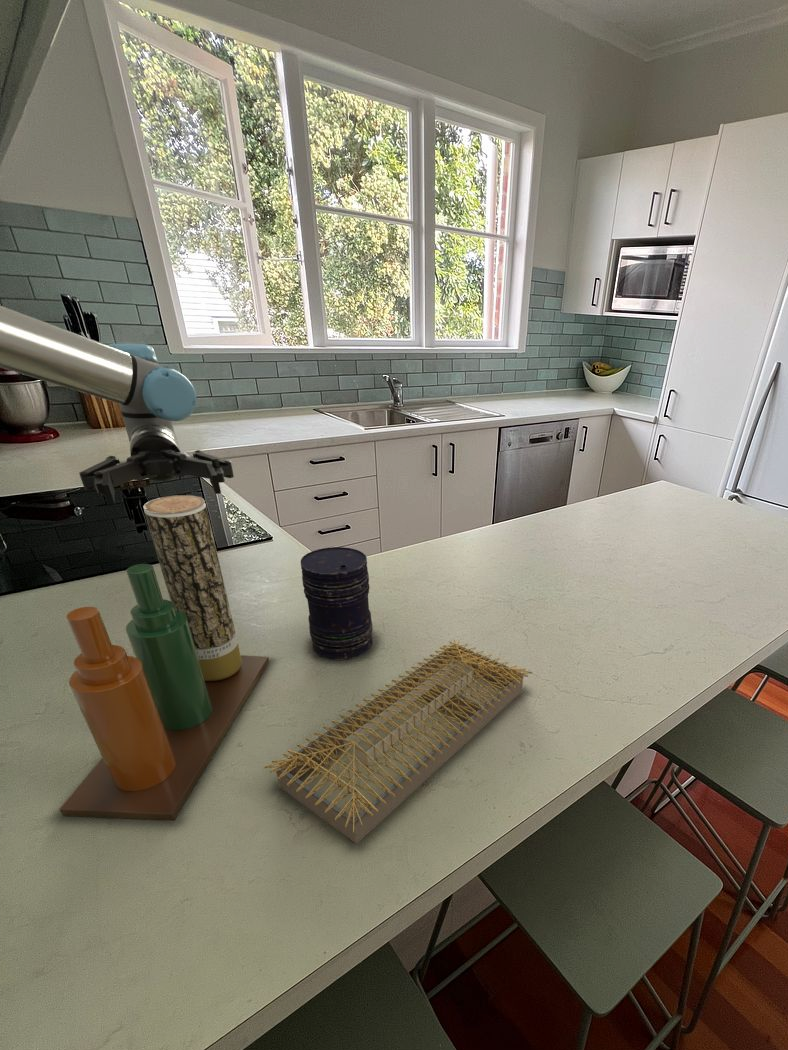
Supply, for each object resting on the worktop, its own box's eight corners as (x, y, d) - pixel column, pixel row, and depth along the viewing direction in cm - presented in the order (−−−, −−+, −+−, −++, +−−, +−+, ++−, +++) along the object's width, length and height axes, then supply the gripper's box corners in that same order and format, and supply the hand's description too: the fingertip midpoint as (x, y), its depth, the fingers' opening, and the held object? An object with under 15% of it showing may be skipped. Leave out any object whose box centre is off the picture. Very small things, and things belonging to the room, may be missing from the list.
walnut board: (62, 815, 58) (58, 809, 58) (191, 658, 83) (189, 652, 83) (174, 820, 58) (172, 814, 58) (269, 661, 84) (268, 656, 83)
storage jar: (301, 639, 89) (288, 555, 81) (354, 622, 95) (347, 542, 87) (329, 668, 83) (318, 580, 75) (384, 647, 88) (380, 563, 80)
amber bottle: (101, 790, 60) (24, 629, 49) (133, 749, 65) (70, 595, 54) (159, 792, 60) (95, 632, 49) (186, 751, 66) (134, 598, 54)
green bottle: (148, 729, 68) (92, 579, 57) (173, 697, 74) (126, 555, 63) (199, 731, 69) (153, 582, 57) (220, 699, 74) (182, 558, 63)
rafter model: (453, 656, 87) (454, 623, 84) (530, 690, 80) (534, 656, 77) (268, 788, 63) (259, 749, 59) (356, 854, 56) (351, 814, 53)
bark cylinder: (251, 669, 80) (215, 504, 67) (206, 689, 76) (157, 517, 62) (229, 651, 84) (190, 491, 70) (184, 669, 79) (133, 502, 66)
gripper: (238, 469, 99) (261, 504, 84) (76, 483, 89) (68, 526, 73) (230, 426, 95) (252, 455, 80) (59, 435, 85) (47, 471, 69)
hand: (164, 489), depth 77 cm, fingers open, 13 cm apart
